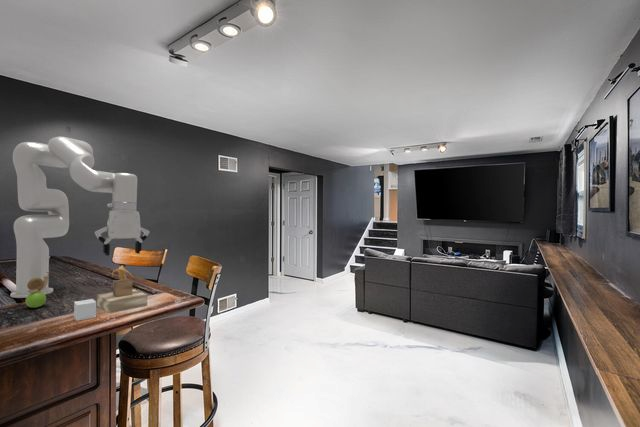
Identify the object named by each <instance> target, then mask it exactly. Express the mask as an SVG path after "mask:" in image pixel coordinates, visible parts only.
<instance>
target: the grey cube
mask: <svg viewBox="0 0 640 427" xmlns="http://www.w3.org/2000/svg"><path fill="white" fill-rule="evenodd" d="M73 303H74V304H73V305H74V306H73V317H74V319H75V320H76V322H77V321H83V320H88V319H93V318H97V300H95V299H94V298H90V299H84V300H83V299H82V300H78V301H77V300H76V301H74V302H73Z"/></svg>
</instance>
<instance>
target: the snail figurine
mask: <svg viewBox="0 0 640 427" xmlns="http://www.w3.org/2000/svg"><path fill="white" fill-rule="evenodd" d="M46 273H48V275H45V276H44V281H43V280H42V279H40V278H33V279H31V280H30V281H29V282H28V284H27V287H28V289H30V290H28V292H29V293H31V294H29V295H28V296H27V298H25V304H26V306H27V307H29V308H32V309H36V308H39V307H42V306H43V305H44V304H45V303H46V301H47V296H46V295H47V294H46V295H45V294H44V293H42V292H40V291H42V290H43V289H44V288H45V287H46V285H47V282H48V283H49V277H50V271H49V272H48V271H47V272H46Z"/></svg>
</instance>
